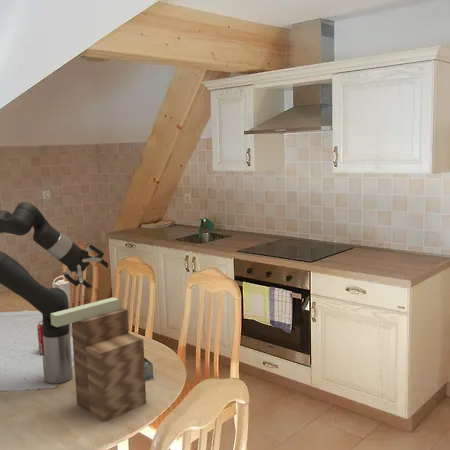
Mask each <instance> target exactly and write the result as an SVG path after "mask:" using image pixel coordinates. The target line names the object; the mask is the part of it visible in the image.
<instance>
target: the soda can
mask: <svg viewBox="0 0 450 450" xmlns="http://www.w3.org/2000/svg"><path fill="white" fill-rule="evenodd" d="M42 326H43V319H42V320H41V321H40V320H39V321H38V324H37V326H36V327H37V339H38V350H39V352H38V353H40V354H42V355H43V354H44V343H43V331H42Z"/></svg>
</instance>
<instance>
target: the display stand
mask: <svg viewBox="0 0 450 450" xmlns="http://www.w3.org/2000/svg"><path fill="white" fill-rule="evenodd" d="M128 311H129V310H128V309H126V308H124V307H121V306H120V310H116V311H113V312H109V313H106V314H102V315H98V316H95V317H91V318H88V319H84V320H81V321H77V322H74V323H71V327H72V349H73V367H74V378H75V380H74V381H75V393H76V405H77V406H79V407H80V408H82V409H84V410H85V411H86V412H88V413H89V414H91V415H92V416H94V417H96V418H97V419H99V420H100V421H102V422H107V421H110V420H112V419H114V418H116V417H118V416H120V415H122V414H125V413H127V412H129V411H131V410H133V409H136V408H138V407H141V406H143V405H145V404H147V394H146V393H147V392H146V387H147V386H146V380H145V365H144V358H145V349H144V347H145V346H144V344H145V343H144V338H142V337H139V336H138V335H135V334H133V333H130V332H129V315H128V314H129V313H128Z"/></svg>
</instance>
